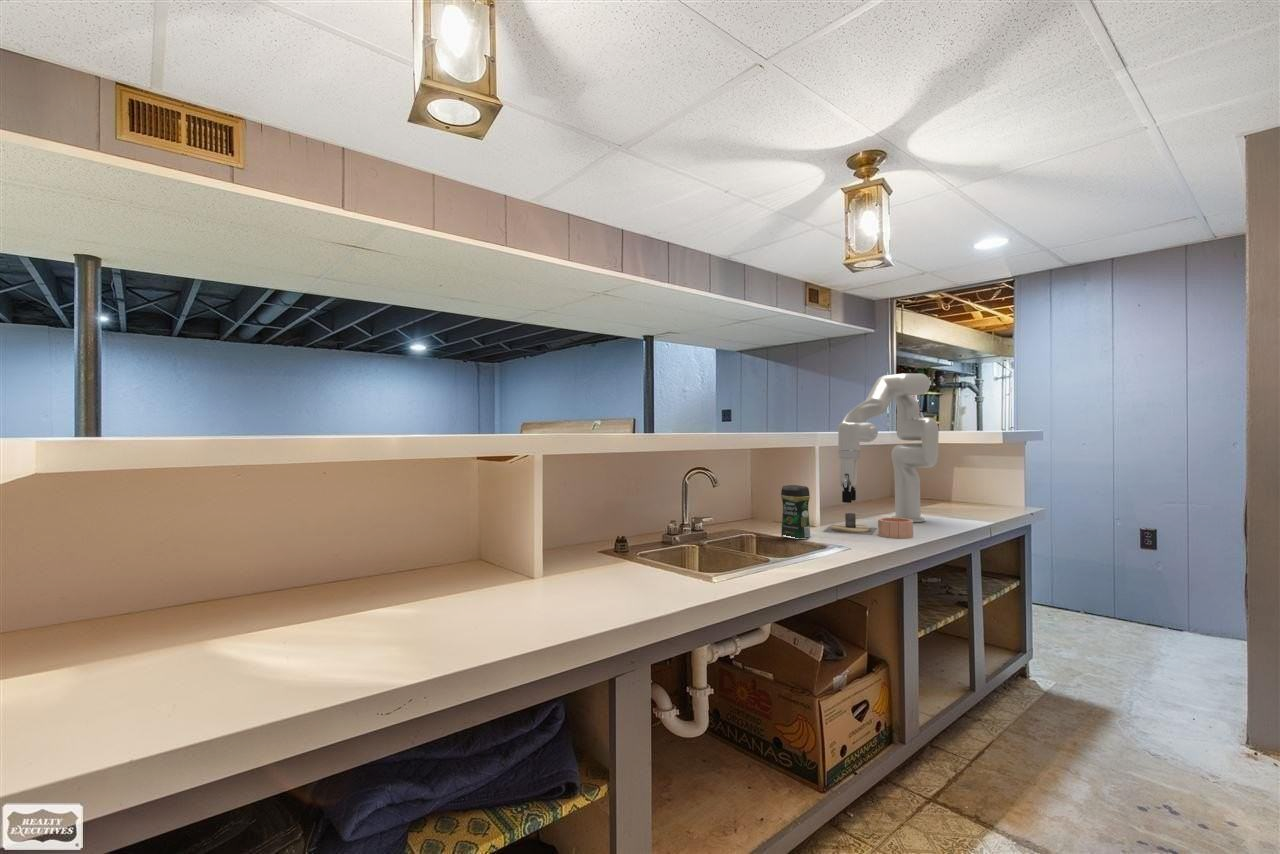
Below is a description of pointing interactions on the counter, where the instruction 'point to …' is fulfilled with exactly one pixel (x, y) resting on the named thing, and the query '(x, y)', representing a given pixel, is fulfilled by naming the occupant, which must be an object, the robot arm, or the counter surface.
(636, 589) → the counter surface
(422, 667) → the counter surface
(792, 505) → the coffee jar
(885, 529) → the terracotta bowl
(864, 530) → the oak lid
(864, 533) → the rubber mat
